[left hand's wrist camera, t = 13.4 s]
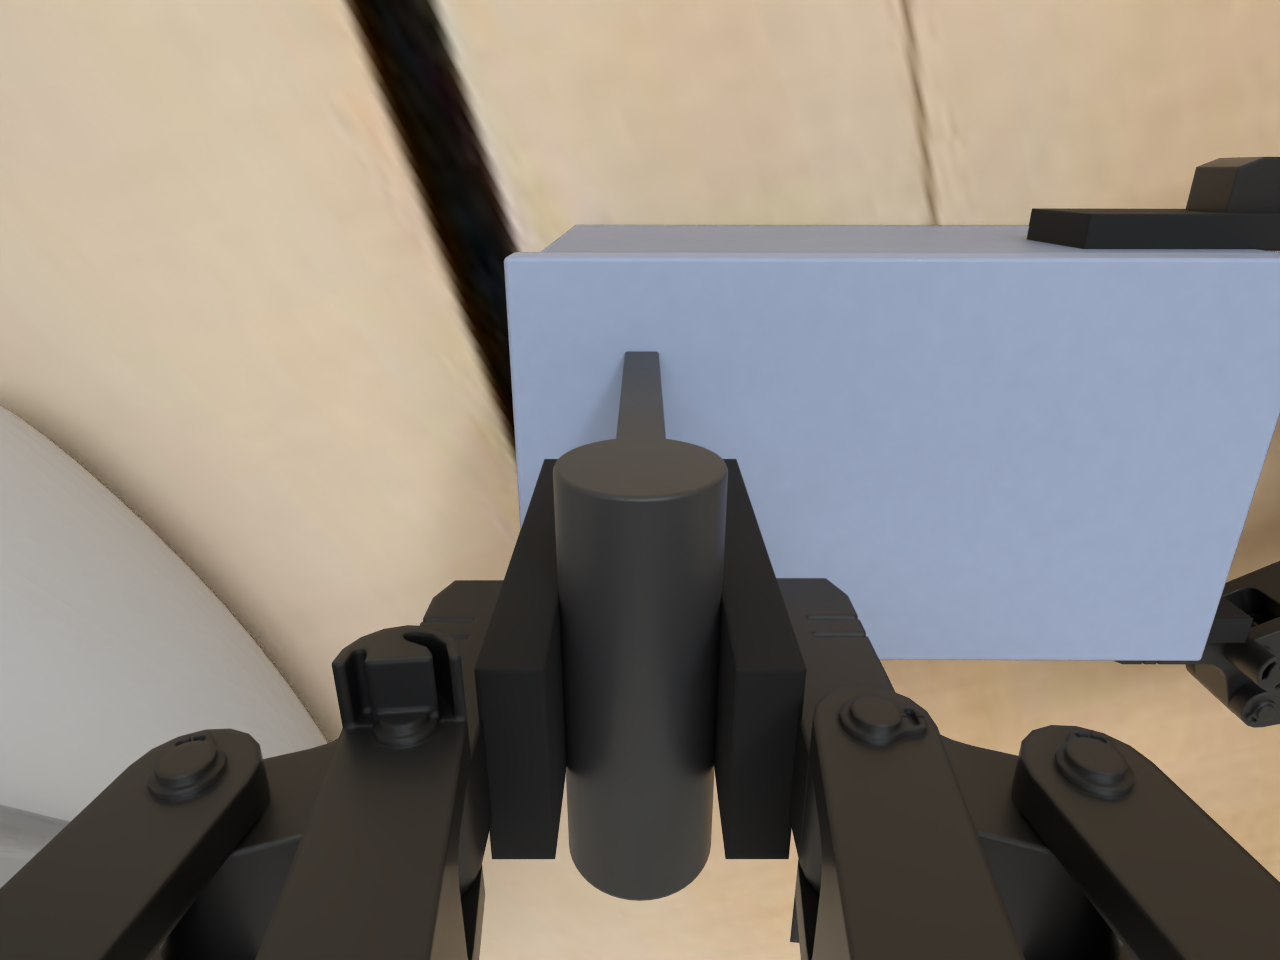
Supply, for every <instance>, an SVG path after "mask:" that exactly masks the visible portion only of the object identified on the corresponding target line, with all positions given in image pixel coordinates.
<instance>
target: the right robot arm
mask: <svg viewBox="0 0 1280 960" xmlns="http://www.w3.org/2000/svg"><path fill="white" fill-rule="evenodd" d="M1027 240H1033V241H1039V242H1045V243H1051V244H1056V245H1062V246H1068V247H1074V248H1080V249H1257V250H1265V251H1280V157H1246V158H1219V159H1216V160H1214V161H1211V162H1209V163H1206V164H1204V165H1201V166H1198V167H1196V171H1195V175H1194V179H1193V183H1192V187H1191V191H1190V195H1189V199H1188V202H1187V206H1186V209H1032V212H1031V218H1030V223H1029V229H1028V234H1027ZM1113 661H1116V662H1118V663H1121V664H1142V663H1144V664H1156V663H1158V664H1185V665H1186V668H1187V671H1189V672H1190V673H1191V674H1192V675H1193V676H1194V677H1195V678H1196V679H1197V680H1198V681H1199V682H1200V683H1201V684H1202V685H1203V686H1204V687H1205V688H1207V689H1208V690H1209V691H1210V692H1211V693H1212V694H1213V695H1214V696H1215V697H1216V698H1218V699H1219V700H1220V701H1221V702H1222V703H1223V704H1224V705H1225V706H1226V707H1227V708H1228V709H1230V710H1231V711H1232V712H1233V713H1234V714H1235V715H1237V716H1238V717H1239V718H1240V719H1241V720H1242V721H1243V722H1244V723H1245V724H1246V725H1248V726H1251V727H1265V726H1271V725H1276V724H1280V561H1279V562H1276V563H1274V564H1271V565H1269V566H1266V567H1264V568H1261V569H1259V570H1256V571H1254V572H1252V573H1249V574H1247V575H1244V576H1242V577H1239V578H1237V579H1234V580H1232V581H1229V582H1227V583H1225V586H1224V589H1223V592H1222V595H1221V598H1220V602H1219V605H1218V608H1217V611H1216V614H1215V617H1214V620H1213V623H1212V626H1211V630H1210V633H1209V636H1208V639H1207V642H1206V645H1205V648H1204V651H1203V655H1202V658H1201V659H1200V660H1198V661H1127V660H1113Z"/></svg>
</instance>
